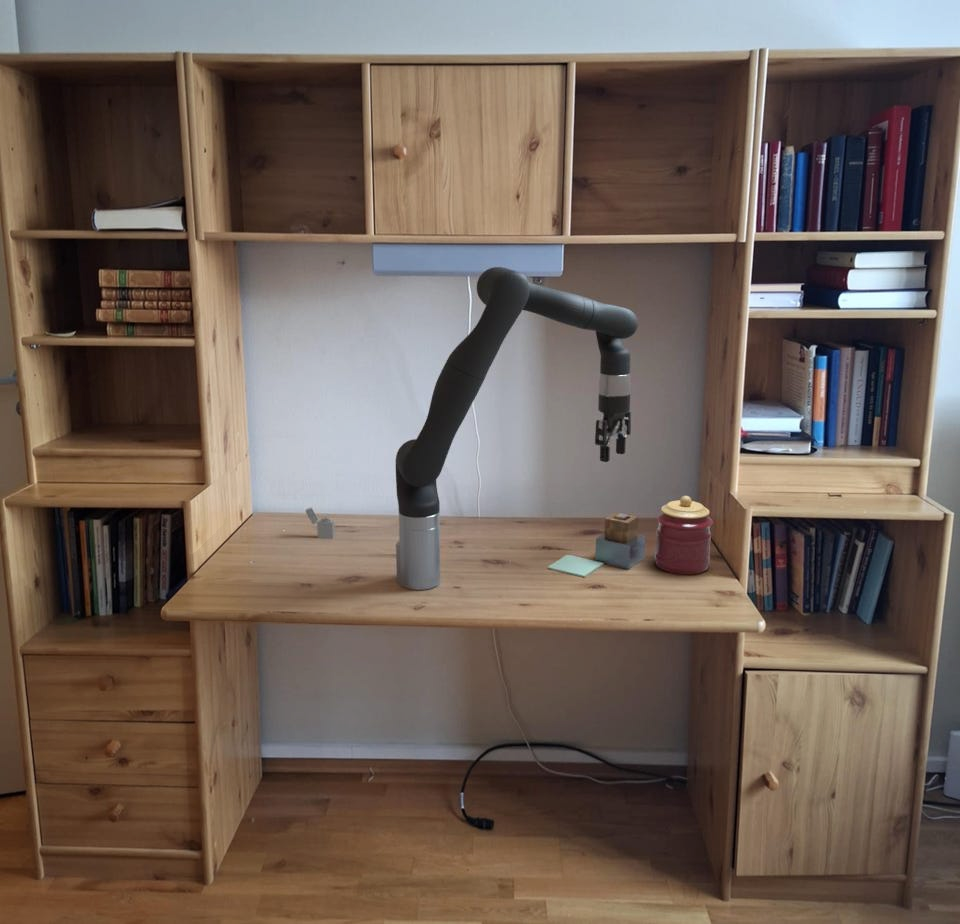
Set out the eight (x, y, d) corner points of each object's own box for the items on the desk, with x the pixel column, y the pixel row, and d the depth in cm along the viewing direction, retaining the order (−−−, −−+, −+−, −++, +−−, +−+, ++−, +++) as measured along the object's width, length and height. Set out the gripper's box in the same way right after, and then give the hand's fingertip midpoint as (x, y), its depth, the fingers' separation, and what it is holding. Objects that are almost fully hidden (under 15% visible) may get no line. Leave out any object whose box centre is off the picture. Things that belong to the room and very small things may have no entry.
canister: (698, 579, 204) (703, 507, 199) (646, 568, 210) (649, 498, 206) (716, 562, 214) (721, 493, 210) (665, 552, 221) (669, 485, 217)
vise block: (595, 561, 215) (596, 517, 212) (611, 550, 222) (613, 507, 219) (629, 569, 210) (631, 523, 207) (644, 558, 217) (646, 514, 214)
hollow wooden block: (604, 538, 214) (605, 518, 212) (615, 531, 218) (615, 512, 217) (627, 542, 210) (628, 523, 209) (637, 535, 215) (638, 516, 214)
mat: (547, 568, 210) (547, 567, 210) (567, 556, 218) (567, 554, 218) (584, 577, 205) (584, 575, 205) (603, 564, 213) (603, 562, 213)
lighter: (334, 536, 233) (333, 507, 230) (333, 538, 231) (331, 509, 229) (308, 535, 233) (306, 506, 231) (306, 537, 231) (305, 508, 229)
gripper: (613, 386, 217) (612, 449, 221) (586, 395, 206) (585, 461, 210) (641, 388, 213) (639, 453, 217) (615, 398, 201) (613, 466, 206)
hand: (612, 457), depth 213 cm, fingers open, 8 cm apart
